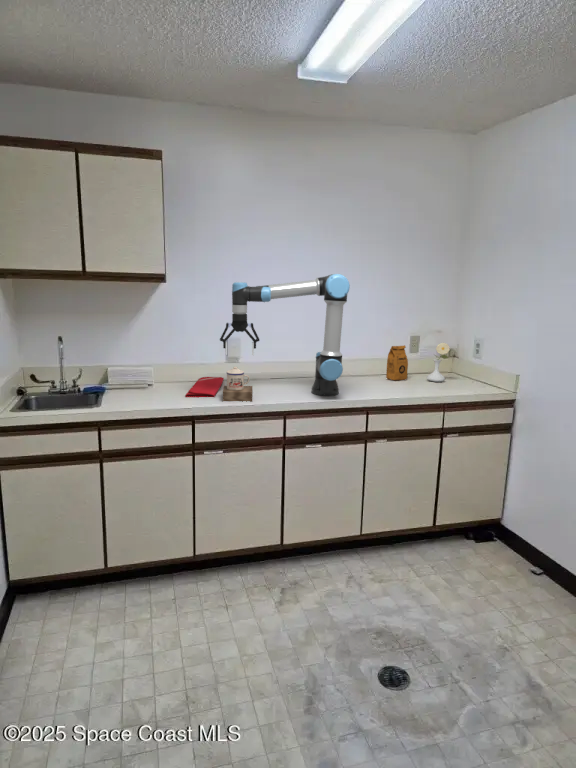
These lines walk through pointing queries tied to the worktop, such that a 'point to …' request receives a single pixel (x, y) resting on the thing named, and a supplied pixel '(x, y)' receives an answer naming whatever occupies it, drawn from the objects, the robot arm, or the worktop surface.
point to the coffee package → (397, 363)
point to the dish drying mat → (205, 387)
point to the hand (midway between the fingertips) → (239, 354)
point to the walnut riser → (238, 394)
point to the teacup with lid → (236, 379)
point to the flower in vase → (436, 376)
